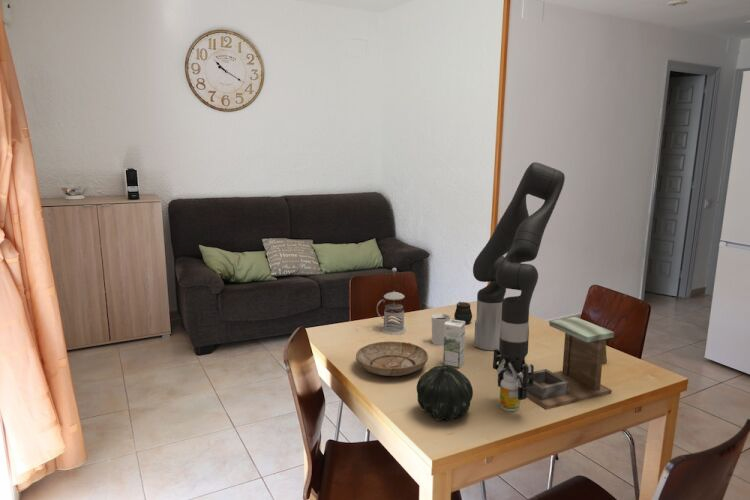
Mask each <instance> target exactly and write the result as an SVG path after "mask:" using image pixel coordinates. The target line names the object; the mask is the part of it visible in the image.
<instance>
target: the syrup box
mask: <svg viewBox="0 0 750 500" xmlns="http://www.w3.org/2000/svg"><path fill="white" fill-rule="evenodd" d="M465 337H466V324H465V321H460V320H455V319H452V318H450V319H448V320H447V321H446V322H445V324H444V345H443V356H442V359H443V361H442V362H443V363H442V364H443V365H445V366H450V367H452V368H456V369H457V368H458V369H460V368H461V367H462V365H463V364H464V363H465V344H466V343H465Z"/></svg>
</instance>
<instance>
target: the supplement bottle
mask: <svg viewBox="0 0 750 500" xmlns="http://www.w3.org/2000/svg"><path fill="white" fill-rule="evenodd" d="M518 375H520V373H518ZM503 378H504V379H503V380H502V381H501V384H500V387H499V388H500V390H499V407H500V408H501V409H502V410H504V411H507V412H516V411H518V410H519V409H520V407H521V400H519V399H518V386H519V385H518V383H517V380H516V379H514V376H513V374H511V373H510V372H509V371H506V372H504V376H503Z"/></svg>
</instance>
